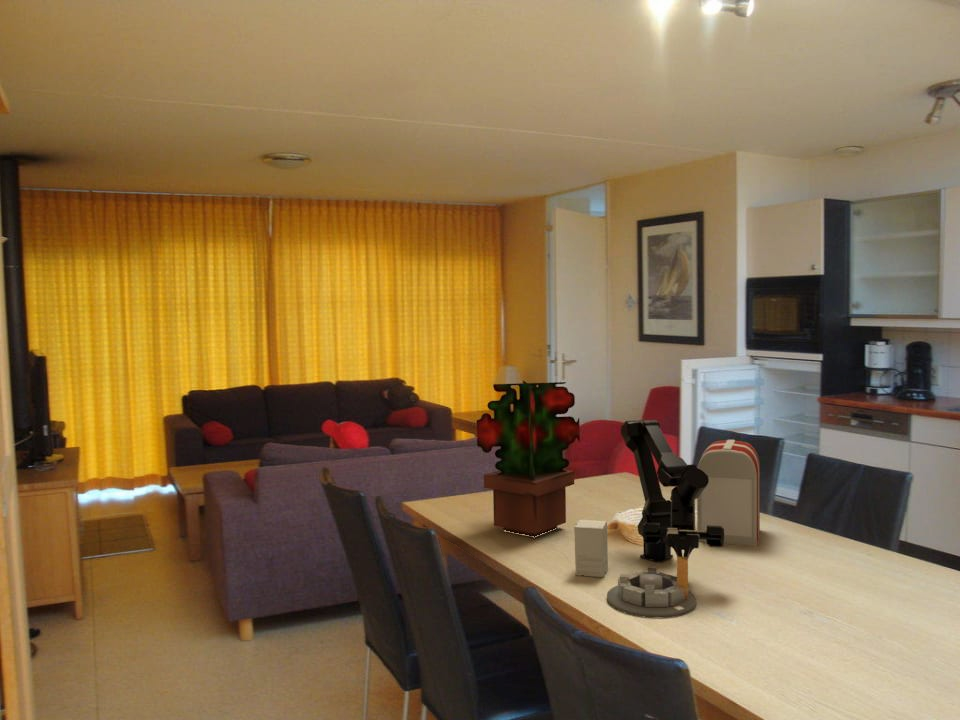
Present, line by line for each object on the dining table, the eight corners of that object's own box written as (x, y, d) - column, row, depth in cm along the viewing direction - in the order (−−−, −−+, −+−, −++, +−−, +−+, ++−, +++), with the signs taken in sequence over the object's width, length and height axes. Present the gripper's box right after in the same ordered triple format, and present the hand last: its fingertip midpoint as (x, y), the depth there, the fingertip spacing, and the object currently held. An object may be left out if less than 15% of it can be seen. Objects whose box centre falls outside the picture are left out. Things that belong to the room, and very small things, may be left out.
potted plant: (580, 528, 245) (578, 381, 242) (538, 545, 228) (535, 388, 225) (523, 517, 259) (520, 378, 256) (479, 532, 242) (475, 384, 239)
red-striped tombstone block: (696, 541, 229) (695, 447, 227) (703, 525, 245) (703, 437, 243) (757, 546, 223) (757, 450, 221) (760, 529, 239) (760, 440, 237)
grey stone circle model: (589, 601, 184) (588, 577, 183) (641, 579, 197) (641, 558, 197) (662, 625, 169) (662, 599, 169) (713, 600, 183) (713, 576, 182)
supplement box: (608, 568, 206) (608, 520, 205) (603, 578, 199) (603, 528, 198) (580, 566, 209) (580, 518, 208) (574, 575, 202) (573, 526, 201)
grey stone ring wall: (606, 595, 183) (606, 557, 183) (643, 580, 193) (643, 543, 193) (660, 612, 173) (660, 571, 172) (697, 595, 182) (697, 556, 182)
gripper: (721, 527, 199) (723, 585, 189) (645, 523, 204) (643, 580, 194) (723, 503, 191) (725, 563, 181) (643, 500, 196) (641, 558, 186)
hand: (683, 567), depth 186 cm, fingers closed
